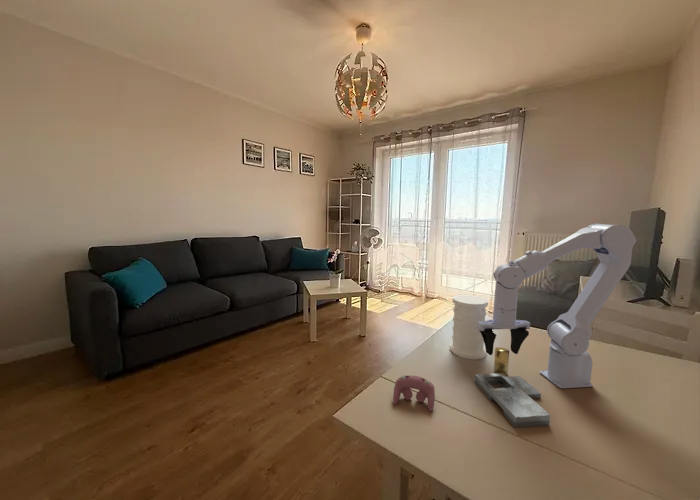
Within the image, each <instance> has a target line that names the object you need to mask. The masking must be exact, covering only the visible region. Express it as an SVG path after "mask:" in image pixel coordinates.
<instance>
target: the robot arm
mask: <svg viewBox="0 0 700 500" xmlns="http://www.w3.org/2000/svg"><path fill="white" fill-rule="evenodd" d="M636 242H637V238H636V237H635V235H634V233H633V231H632V229H630V227H628V226H627V225H625V224H609V223H607V224H605V223H604V224H603V223H600V222H596V223H593V224H590V225H589V226H587V227H583V228H580V229H578V230H577V231H576V232H574V233H573V234H571V235H569V236H567V237H566V238H564V239H562V240H559V242H557V243H555V244H553V245H551V246H549V247H548V248H545V249H544V250H541V251H540V250H536V249H535V250H527V251H525V252H524V255H522V256H520V257H518V258H515V259H514V260H512V259H511V260H508V263H507V264H505V263H504V264H500V265H498V266H497V267H496V268H495V269H494V272H493V278H494V280H495V290H494V299H493V312H492V313H493V315H492V319H487V320H485V321H482V322H478V329H479V331H480V333H481V335H482V337H483V340H484V347H485V348H486V354H488V355H489V356H493V353H494V343H495V340H496V337H497V335H498V334H496V333H495V332H494V331H493V330H509V332H510V351H511V352H512V353H513V354H515V355H518V354H519V351H520V349H521V346H522V345H523V343H524V341H525V340H526V339H527V337H528V336H530V335H529V334H530V332H529V331H528V330H530V328H531V322H530V321H527V320H526V319H525V320H524V319H523V320H522V319H521V320H520V319H517V310H518V309H517V308H518V297H519V293H518V292H519V287H520V286H521V285H522V284H523V281H524V280H526V279H529V278H531V277H532V276H533V277H534V276H535V275H536V274H539V273H541V272H543V271H545V270H547V269H548V268H549V266H550V263H551V262H553V261H555V260H558V259H560V258H562V257H564V256H568V255H569V254H572V253H574V252H577V251H579V250H581V249H591V250H593V251H594V252H595V254H596V256H597V258H598V260H599V264H598V265H597V267H596V269H595V270H594V272H593V273H592V274H591V276H590V277H589V279H588V281H587V282H586V284H585V285H584V286H583V288H582V290H581V291H580V293H579V294H578V296H577V298H576V299H575V300H574V302H572V305H571V306H570V308H569V309H568V311H567V312H564V313H561V314H560V315H559V316H558V317H557V318H556V319H555V320H554V321H551V323H550V324H548V325H547V328H546V331H547V333H546V334H547V336H548V337H549V338H550V343H549V349H548V350H549V351H548V362H547V370H539V374H540V375H542V376H544V377H545V378H547V380H548V381H550V382H551V383H553V384H555V386H557V387H558V388H560V389H573V388H575V389H576V388H590V387H593V386H594V384H593V383H591V381H592V380H591V379H592V370H593V359H592V356H591V355H590V353H589V352H588V351H587V350H588V349H589V347H590V340H591V337H592V336H593V329H592V326H591V325H592V323H593V321H594V319H595V318H596V317H597V315H598V314H599V313H600V310H601V309H602V308H603V306H604V305H605V303H606V302H607V300H608V299H609V298H610V296H611V294H612V293H613V292H614V291H615V289H616V288H617V286H618V284H619V283H620V282H621V280H622V278H623V277H624V275H625V274H626V272H627V271H628V270H629V268H630V267H631V264H632V256H633V255H632V253H633V247H634V245H635V244H637V243H636Z"/></svg>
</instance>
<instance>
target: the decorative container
mask: <svg viewBox="0 0 700 500" xmlns="http://www.w3.org/2000/svg"><path fill="white" fill-rule="evenodd" d="M452 303H453V304H454V306H453V308H452V309H453V310H452V311H453V316H452V321H453V325H452V331H453V332H452V335H451V339H452V341H451V342H449V348H450V349H449V351H450V350H451V351H452V352H453V353H454V354H453V353H452V352H451V351H450V352H451V353H452V354H453V355H455V354H456V355H455V356H457V355H458V356H457V357H460V358H462V359H465V360H466V359H467V360H480V359H484V358H485V357H486V356H487V352H486V348H485V343H484V340H483V337H482V335H481V333H480V331H479V329H478V322H482V321H486V317H487V316H486V315H487V310H486V309H487V307H488V306H489V300H488V299H487V298H486V297H482V296H480V295H475V294H474V295H473V294H456V295H453V296H452Z"/></svg>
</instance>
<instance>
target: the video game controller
mask: <svg viewBox="0 0 700 500" xmlns="http://www.w3.org/2000/svg"><path fill="white" fill-rule="evenodd" d="M412 389H413V390H419V391H417V393H416V394H415V399H416V401H417V402H419V403H424V402H425V401H426V399H427V405H428V407H427V408H428V411H429V412H433V410H434V407H435V399H436V398H435V397H436V394H435V386H434V384H433V383H432V382H431V381H429V380H428V379H426V378H423V377H421V376H417V375H411V374H410V375H402V376H400V377H398V378H397V379H396V381H395V383H394V388H393V395H392V396H393V397H392V400H393V401H392V402H393V404H395V405H397V403H398V402H399V400H400V398H401V394H402V396H403V398H404V399H405V400H411V399H412V398H413V391H412Z"/></svg>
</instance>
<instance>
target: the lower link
mask: <svg viewBox="0 0 700 500" xmlns="http://www.w3.org/2000/svg"><path fill="white" fill-rule="evenodd" d="M507 377H508V378H509V379H510V380H511V381H513V382H514V383H515V384H516V385H517V386H518V387H519V388H520V389H521V390H523V391H524V392H525V393H526V394H527V395H528V396H529V397H530V398H532V399H533V400H534V399H541V398H542V394H541V392H539V391H538V389H536V388H534V386H532V385H531V384H530V383H529V382H528V381H526V380H525V379H524V378H523V377H522V376H521V375H516V376H515V375H514V376H513V375H512V376H507ZM487 382H488V383H489V384H490V385H491V386H494V385H496V386H497V385H501V386H502V388H509V387H508V386H507V385H506V384H504V383H503V382H502V381H501V380H494V381H487ZM474 383H475V385H476V386H477V387H478V388H479V389H480V390H481V391H482V392H483V394H484V395H485V396H486V397H487V399H489V400H490V401H491V402H496V401H495V400H494V399H493V398H492V397H491V396H490V394H489V393H488V392H487V391H486V390H485V389H484V388H483V387H482V386H481V385H480V383H479V382H478V381H477V380H476V379H475V378H474Z"/></svg>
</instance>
